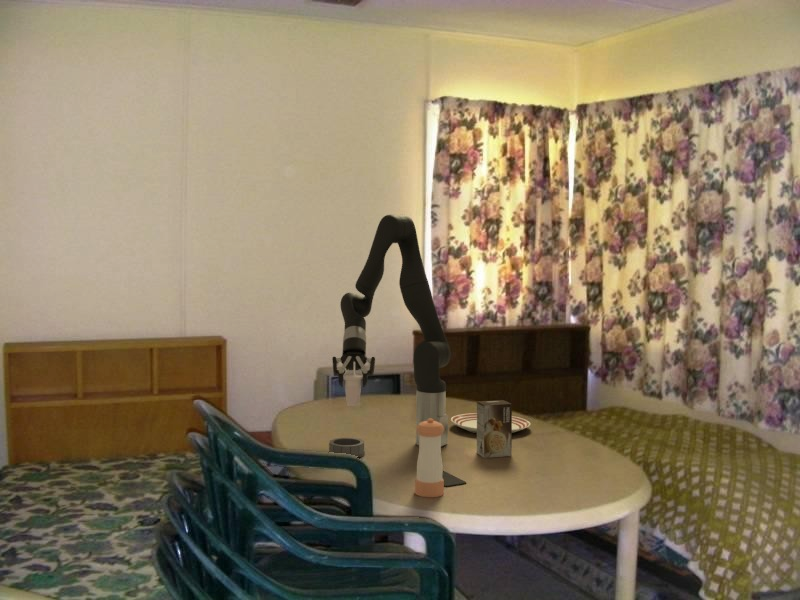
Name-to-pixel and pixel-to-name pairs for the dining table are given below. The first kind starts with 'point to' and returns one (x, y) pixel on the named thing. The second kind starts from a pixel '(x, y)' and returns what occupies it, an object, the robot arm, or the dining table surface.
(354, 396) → the smoothie
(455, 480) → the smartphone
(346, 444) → the grey short hollow cylinder
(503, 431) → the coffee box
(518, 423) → the dinner plate
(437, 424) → the salt shaker
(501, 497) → the dining table surface
